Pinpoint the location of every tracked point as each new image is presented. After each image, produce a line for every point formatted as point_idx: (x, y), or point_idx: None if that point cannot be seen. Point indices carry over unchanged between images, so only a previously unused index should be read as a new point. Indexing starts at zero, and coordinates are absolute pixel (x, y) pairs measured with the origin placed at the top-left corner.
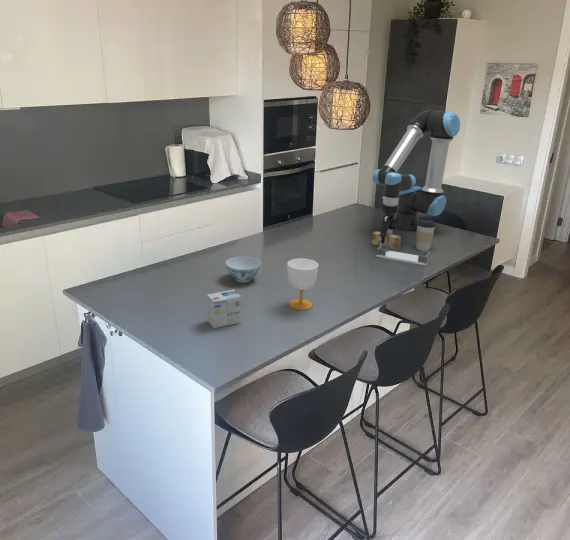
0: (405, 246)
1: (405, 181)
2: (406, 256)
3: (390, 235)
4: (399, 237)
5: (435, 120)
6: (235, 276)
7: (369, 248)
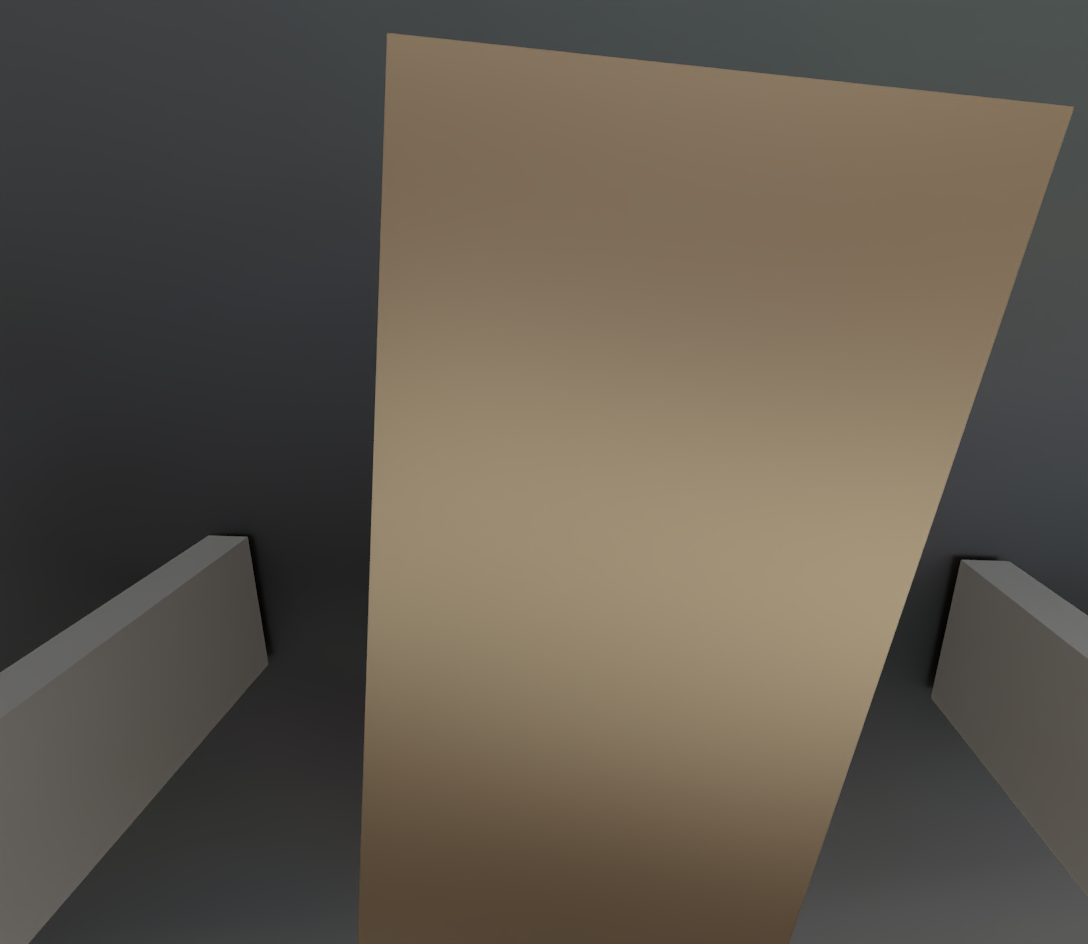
0: (334, 8)
1: None
2: None
3: (606, 758)
4: (758, 107)
5: None
6: None
7: (1005, 892)
